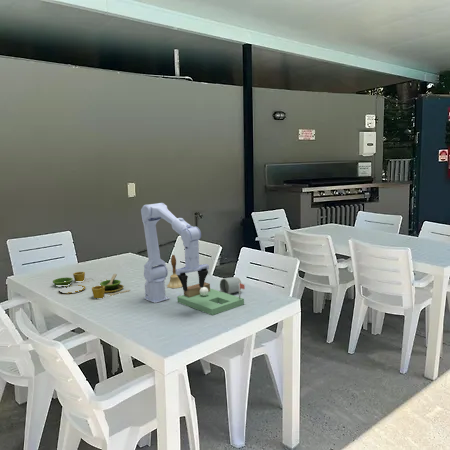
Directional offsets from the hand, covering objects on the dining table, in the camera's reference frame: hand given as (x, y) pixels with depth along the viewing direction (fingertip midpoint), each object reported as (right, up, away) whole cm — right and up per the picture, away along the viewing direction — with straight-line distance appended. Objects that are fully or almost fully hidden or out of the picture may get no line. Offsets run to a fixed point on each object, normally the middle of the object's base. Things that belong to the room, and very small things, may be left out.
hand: (193, 288), depth 182 cm
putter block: (0, -5, +18) cm, 18 cm away
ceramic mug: (+15, -6, +26) cm, 30 cm away
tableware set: (-55, -6, +40) cm, 68 cm away
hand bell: (-12, -4, +39) cm, 41 cm away
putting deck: (+7, -8, +11) cm, 15 cm away
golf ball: (+4, -3, +14) cm, 15 cm away
